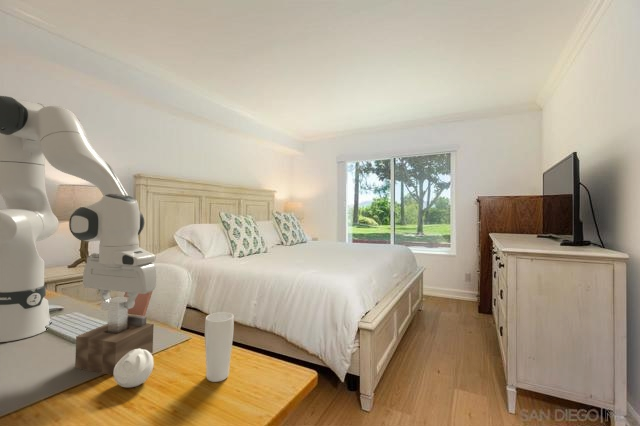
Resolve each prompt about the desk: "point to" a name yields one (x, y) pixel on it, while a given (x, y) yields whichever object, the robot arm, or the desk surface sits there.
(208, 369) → the drinking glass
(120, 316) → the steel peg
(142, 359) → the white ridged ball
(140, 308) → the panel
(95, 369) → the block
